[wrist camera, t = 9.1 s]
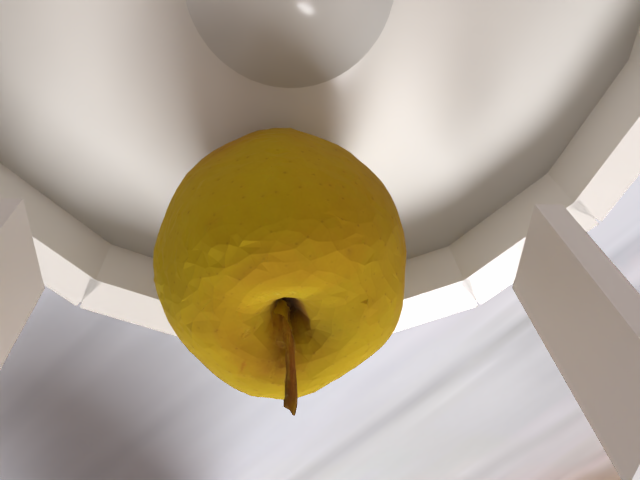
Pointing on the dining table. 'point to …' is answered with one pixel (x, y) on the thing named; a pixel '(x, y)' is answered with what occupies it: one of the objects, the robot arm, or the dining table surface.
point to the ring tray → (316, 124)
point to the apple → (281, 263)
